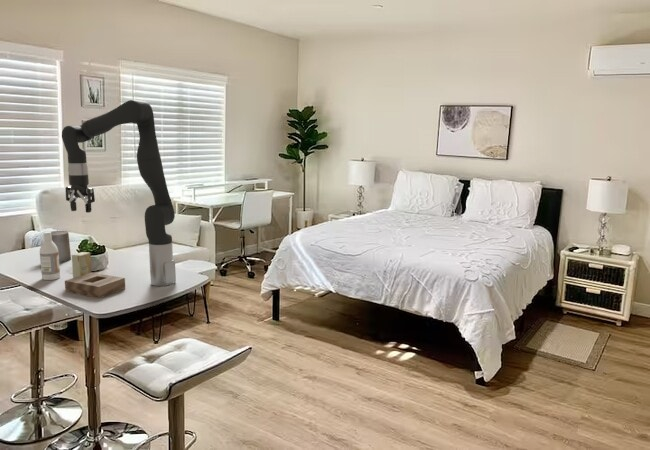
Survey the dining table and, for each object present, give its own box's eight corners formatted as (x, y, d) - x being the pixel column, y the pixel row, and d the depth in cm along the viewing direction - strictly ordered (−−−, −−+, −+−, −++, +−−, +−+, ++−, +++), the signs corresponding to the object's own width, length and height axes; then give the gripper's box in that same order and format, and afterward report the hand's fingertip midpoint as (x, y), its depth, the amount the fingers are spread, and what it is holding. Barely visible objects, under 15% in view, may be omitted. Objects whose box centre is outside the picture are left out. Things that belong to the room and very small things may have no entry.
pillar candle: (64, 256, 254) (61, 227, 251) (75, 259, 249) (72, 229, 246) (44, 260, 246) (41, 230, 244) (54, 263, 241) (51, 232, 238)
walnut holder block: (125, 288, 205) (124, 277, 204) (99, 298, 193) (98, 286, 192) (92, 283, 212) (91, 272, 211) (65, 291, 200) (64, 280, 199)
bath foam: (59, 279, 216) (55, 233, 212) (40, 281, 213) (36, 234, 210) (61, 275, 222) (57, 230, 218) (43, 276, 220) (39, 231, 216)
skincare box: (81, 284, 210) (79, 255, 207) (73, 283, 211) (70, 254, 208) (92, 280, 216) (90, 252, 213) (84, 279, 217) (82, 251, 215)
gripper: (97, 173, 216) (100, 211, 219) (73, 172, 221) (76, 209, 224) (83, 175, 209) (86, 214, 212) (58, 173, 215) (61, 211, 217)
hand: (81, 211), depth 218 cm, fingers open, 8 cm apart
